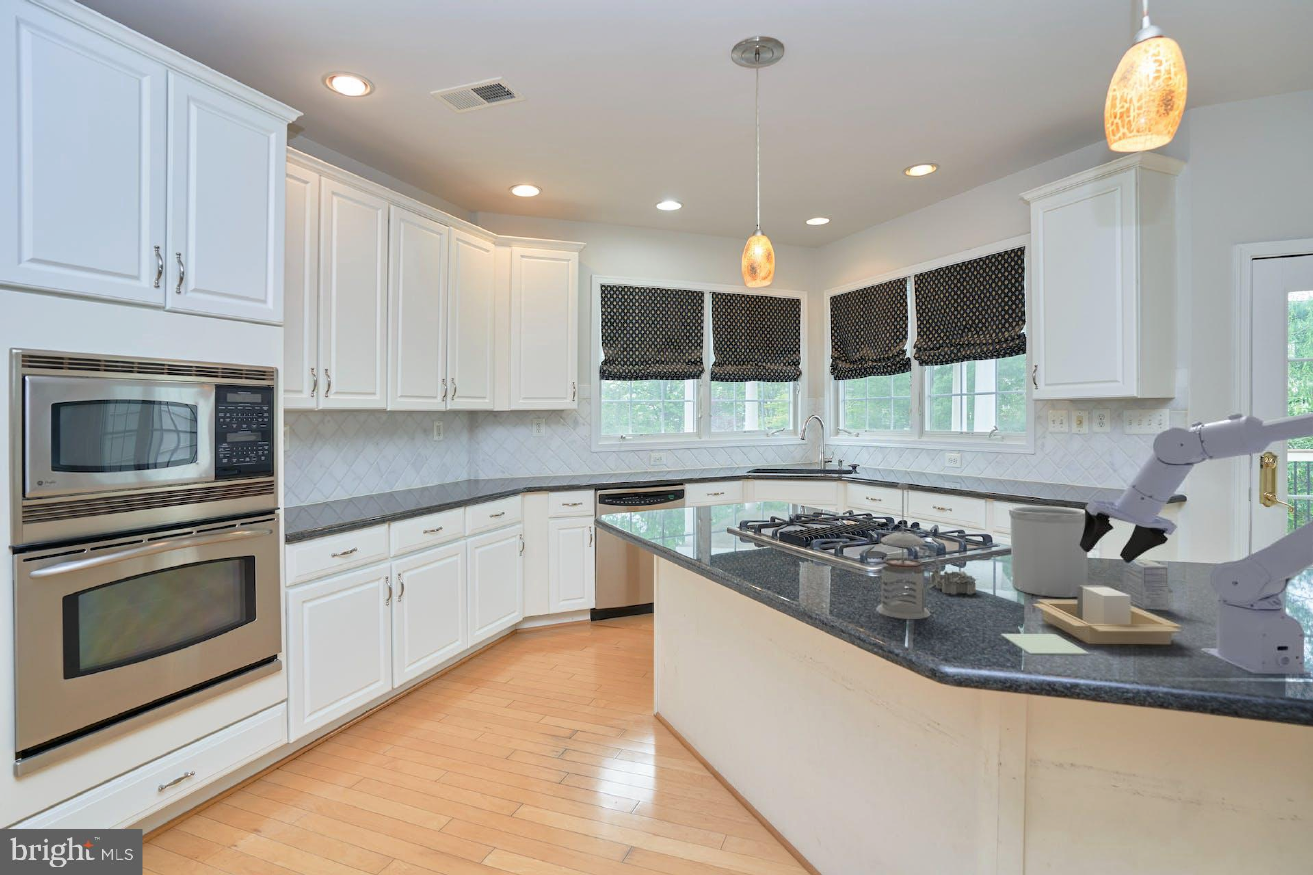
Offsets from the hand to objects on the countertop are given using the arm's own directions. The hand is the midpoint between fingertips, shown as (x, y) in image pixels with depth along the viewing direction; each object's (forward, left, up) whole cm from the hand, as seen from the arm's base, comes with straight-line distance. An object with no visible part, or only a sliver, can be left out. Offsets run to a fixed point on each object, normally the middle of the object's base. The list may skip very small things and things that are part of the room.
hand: (1104, 553), depth 114 cm
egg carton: (+26, +16, -13) cm, 33 cm away
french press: (+8, +32, -13) cm, 35 cm away
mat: (-11, +17, -13) cm, 24 cm away
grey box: (-4, +3, -12) cm, 13 cm away
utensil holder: (+25, -4, -13) cm, 28 cm away
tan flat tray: (-4, +3, -13) cm, 14 cm away
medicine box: (+13, -16, -13) cm, 24 cm away
